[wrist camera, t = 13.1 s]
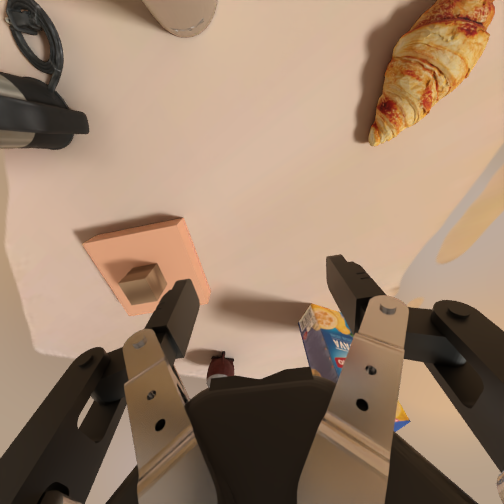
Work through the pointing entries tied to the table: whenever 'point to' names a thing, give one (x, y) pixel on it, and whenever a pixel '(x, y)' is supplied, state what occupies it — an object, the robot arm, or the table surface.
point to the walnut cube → (143, 284)
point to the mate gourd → (220, 368)
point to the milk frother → (36, 89)
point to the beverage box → (331, 347)
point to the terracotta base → (149, 258)
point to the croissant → (430, 63)
